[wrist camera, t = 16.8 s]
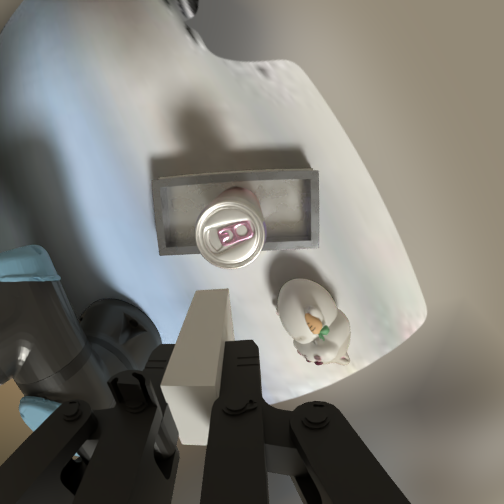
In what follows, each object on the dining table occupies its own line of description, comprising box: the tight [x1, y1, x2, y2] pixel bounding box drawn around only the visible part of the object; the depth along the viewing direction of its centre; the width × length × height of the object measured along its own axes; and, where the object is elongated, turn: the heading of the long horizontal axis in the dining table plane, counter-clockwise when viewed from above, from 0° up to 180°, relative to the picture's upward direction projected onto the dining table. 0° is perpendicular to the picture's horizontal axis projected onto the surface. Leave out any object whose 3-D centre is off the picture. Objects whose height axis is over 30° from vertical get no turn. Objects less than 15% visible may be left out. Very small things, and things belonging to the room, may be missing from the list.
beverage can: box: [195, 187, 267, 269], centre depth 31 cm, size 6×6×15 cm
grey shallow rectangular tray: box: [152, 168, 319, 256], centre depth 37 cm, size 20×10×4 cm, turn 93°
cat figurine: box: [276, 279, 351, 365], centre depth 39 cm, size 10×8×15 cm
